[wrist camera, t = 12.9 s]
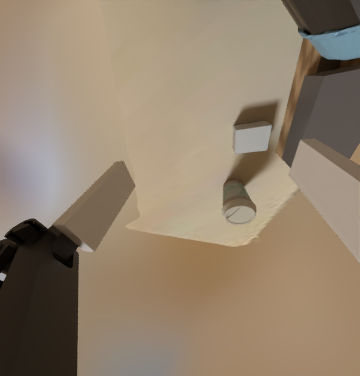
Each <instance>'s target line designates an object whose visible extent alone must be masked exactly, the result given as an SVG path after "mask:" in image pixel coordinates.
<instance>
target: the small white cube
mask: <svg viewBox="0 0 360 376" xmlns="http://www.w3.org/2000/svg"><path fill="white" fill-rule="evenodd" d="M271 128H272V125H271V124H270V123H269V122H267V121H259V122H253V123H246V124H240V125H233V150H234V153H235V154H239V153H249V152H258V151H267V148H268V143H269V138H270V133H271Z"/></svg>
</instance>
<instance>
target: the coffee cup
mask: <svg viewBox="0 0 360 376" xmlns="http://www.w3.org/2000/svg"><path fill="white" fill-rule="evenodd" d="M221 211H222V215H223V217H224V218H225V220H226V221H227V222H229V223H231V224H234V225H243V224H247V223H249V222H251V221H252V220H254V218H255V216H256V206H255V204H254V203H253V202H252V201H251V199H250V197H249V195H248V193H247V192H246V190H245V188H244V186H243V184H242V183H241V182H240V181H239V180H235V179H233V180H229V181H227V182H226V183H225V184H224V186H223V207H222V210H221Z"/></svg>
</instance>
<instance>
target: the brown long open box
mask: <svg viewBox="0 0 360 376" xmlns="http://www.w3.org/2000/svg"><path fill="white" fill-rule="evenodd" d="M320 59H321V55H320V54H319V53H318V51H317V50H316V49H315V48H314V46H313V45H312V44H311V42H310V41H309V40H308V39H306V38H303V43H302V47H301V51H300V55H299V59H298V63H297V67H296V71H295V75H294V80H293V84H292V88H291V92H290V96H289V100H288V104H287V108H286V112H285V117H284V121H283V125H282V129H281V133H280V137H279V141H278V145H277V149H276V153H277V154H278V156H279V157H280V158H281V159H282V155H283V151H284V147H285V144H286V140H287V137H288V133H289V130H290V126H291V122H292V119H293V115H294V112H295V108H296V105H297V101H298V97H299V94H300V90H301V87H302V83H303V80H304V76H305V75H309V74H314V73H316V72H317V69H318V66H319V63H320ZM358 64H360V57H359V58H355V59H349V60H341V62H340V64H339V67H338V69H339V68H343V67H348V66H353V65H358ZM282 160H283V159H282ZM283 161H284V160H283Z"/></svg>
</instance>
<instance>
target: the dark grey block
mask: <svg viewBox="0 0 360 376" xmlns="http://www.w3.org/2000/svg"><path fill="white" fill-rule="evenodd" d="M311 138H315V139H317V140H318V141H320V142H322V143H323V144H325V145H327V146H328V147H330V148H332V149H333V150H335V151H337V152H338V153H340V154H342V155H343V156H345V157H347V158H348V159H350V158H351V156H352V154H353V153H354V151H355V150H356V148H357V146H358V145H359V143H360V64H358V65H353V66H348V67H343V68H339V69H334V70H329V71H324V72H319V73H314V74H309V75H305V76H304V80H303V83H302V87H301V90H300V94H299V97H298V101H297V105H296V108H295V112H294V115H293V119H292V122H291V126H290V130H289V133H288V137H287V140H286V144H285V147H284V151H283V155H282V159H283V160H284V161H285V162H286V163H287V165H288V166H289V167H290V168H291V166H292V163H293V160H294V157H295V154H296V151H297V148H298V145H299V142H300V140H303V139H311Z"/></svg>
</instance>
